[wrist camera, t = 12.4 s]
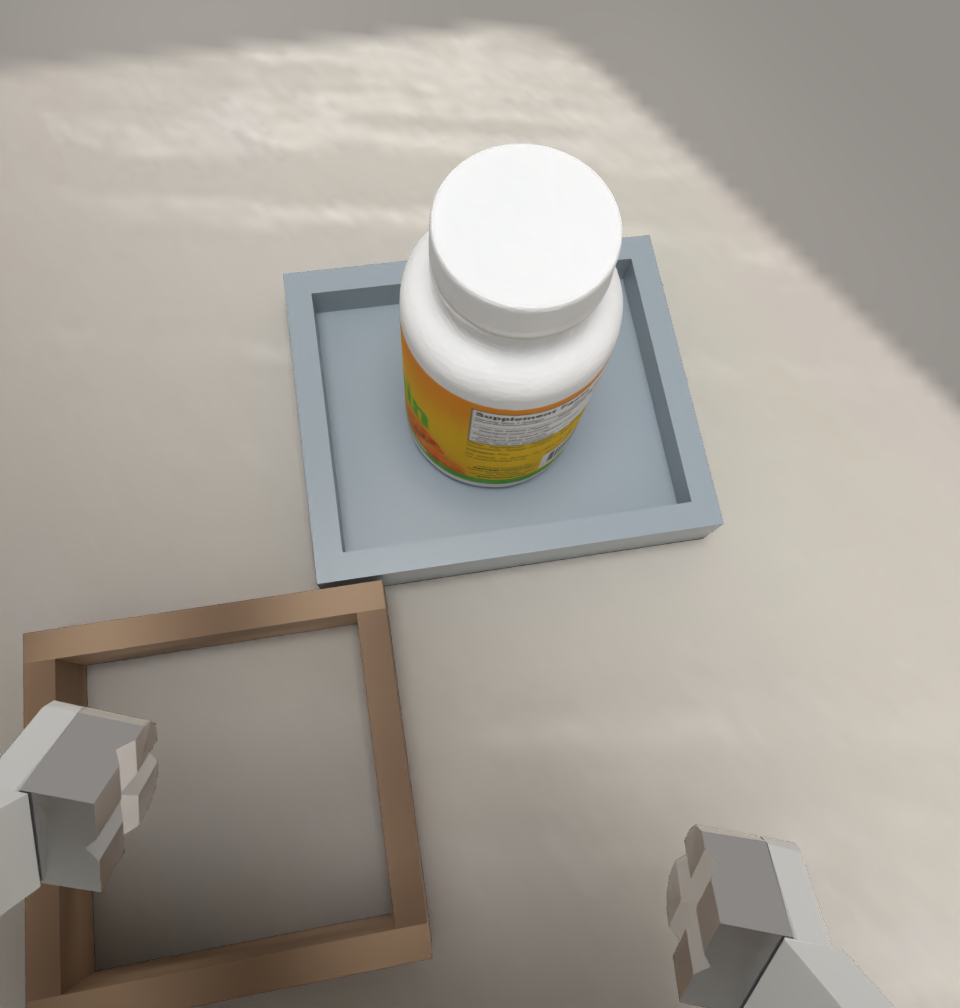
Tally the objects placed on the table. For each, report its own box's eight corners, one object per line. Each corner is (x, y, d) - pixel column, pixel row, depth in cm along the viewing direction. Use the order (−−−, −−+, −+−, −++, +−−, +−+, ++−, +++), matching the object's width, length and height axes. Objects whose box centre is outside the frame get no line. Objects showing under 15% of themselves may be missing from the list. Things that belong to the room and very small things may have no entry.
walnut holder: (63, 1012, 20) (26, 1040, 18) (56, 641, 23) (22, 633, 21) (431, 938, 21) (431, 958, 20) (385, 592, 24) (381, 580, 22)
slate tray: (325, 595, 24) (317, 584, 22) (292, 303, 27) (282, 274, 25) (703, 538, 25) (723, 523, 23) (635, 266, 28) (649, 234, 26)
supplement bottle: (398, 342, 26) (382, 118, 16) (560, 329, 26) (633, 106, 17) (414, 499, 24) (406, 352, 15) (585, 483, 25) (680, 330, 15)
